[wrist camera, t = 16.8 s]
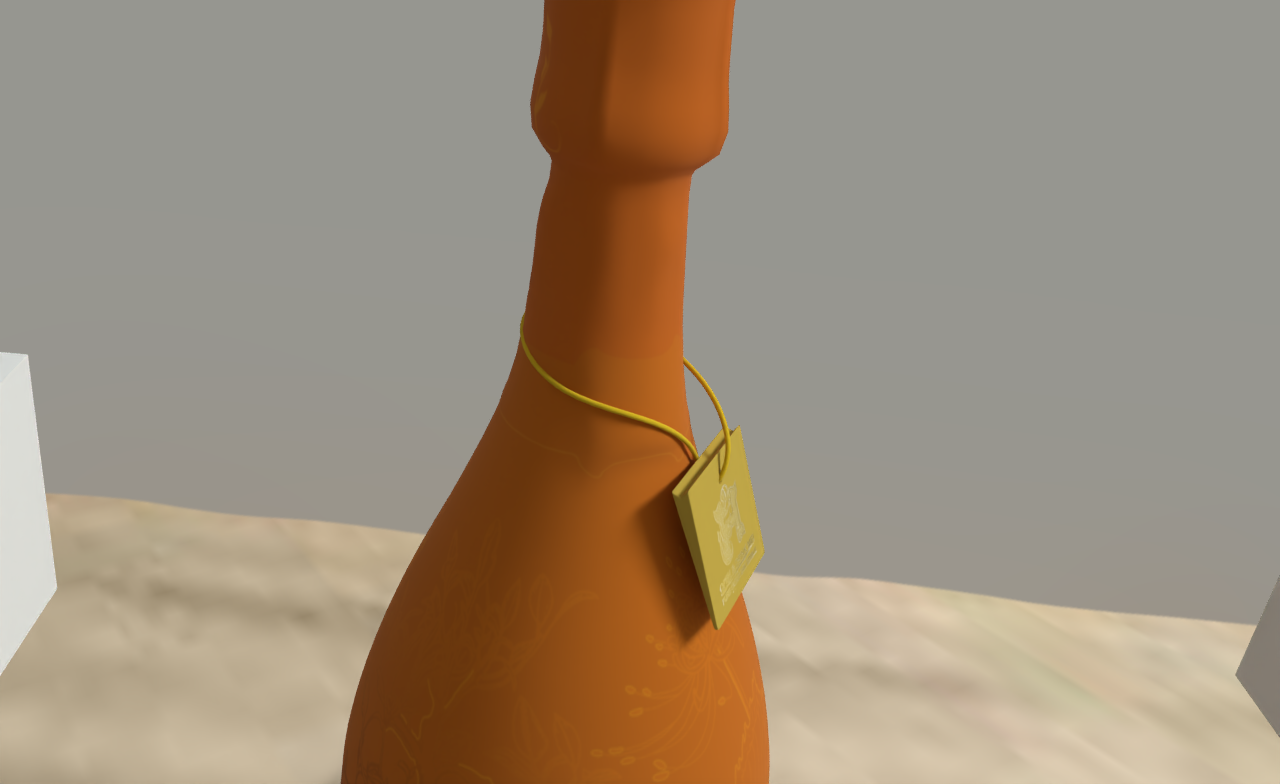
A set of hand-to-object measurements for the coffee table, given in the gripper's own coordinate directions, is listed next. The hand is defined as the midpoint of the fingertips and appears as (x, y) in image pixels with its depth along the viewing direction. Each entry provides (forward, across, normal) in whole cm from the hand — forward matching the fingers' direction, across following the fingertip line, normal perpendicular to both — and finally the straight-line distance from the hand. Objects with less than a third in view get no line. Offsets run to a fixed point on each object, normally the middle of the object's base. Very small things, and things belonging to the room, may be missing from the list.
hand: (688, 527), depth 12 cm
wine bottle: (+10, 0, -25) cm, 27 cm away
